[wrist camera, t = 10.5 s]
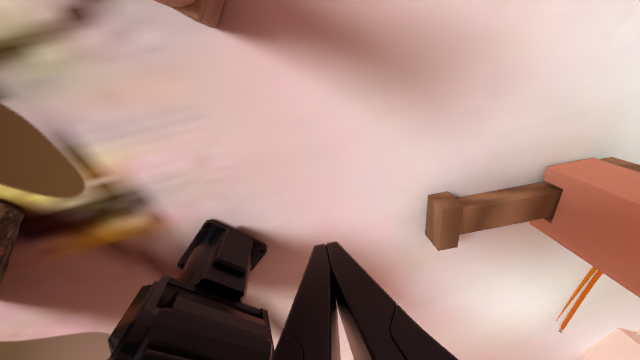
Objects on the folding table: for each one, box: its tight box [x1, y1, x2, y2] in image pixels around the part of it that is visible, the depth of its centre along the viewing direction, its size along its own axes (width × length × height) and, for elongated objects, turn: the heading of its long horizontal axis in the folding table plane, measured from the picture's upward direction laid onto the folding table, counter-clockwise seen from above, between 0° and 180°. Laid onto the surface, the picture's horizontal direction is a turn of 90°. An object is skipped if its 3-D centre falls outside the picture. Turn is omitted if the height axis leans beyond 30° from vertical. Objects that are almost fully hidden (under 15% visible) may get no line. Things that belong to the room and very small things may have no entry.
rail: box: [425, 157, 640, 251], centre depth 24 cm, size 20×6×5 cm, turn 98°
